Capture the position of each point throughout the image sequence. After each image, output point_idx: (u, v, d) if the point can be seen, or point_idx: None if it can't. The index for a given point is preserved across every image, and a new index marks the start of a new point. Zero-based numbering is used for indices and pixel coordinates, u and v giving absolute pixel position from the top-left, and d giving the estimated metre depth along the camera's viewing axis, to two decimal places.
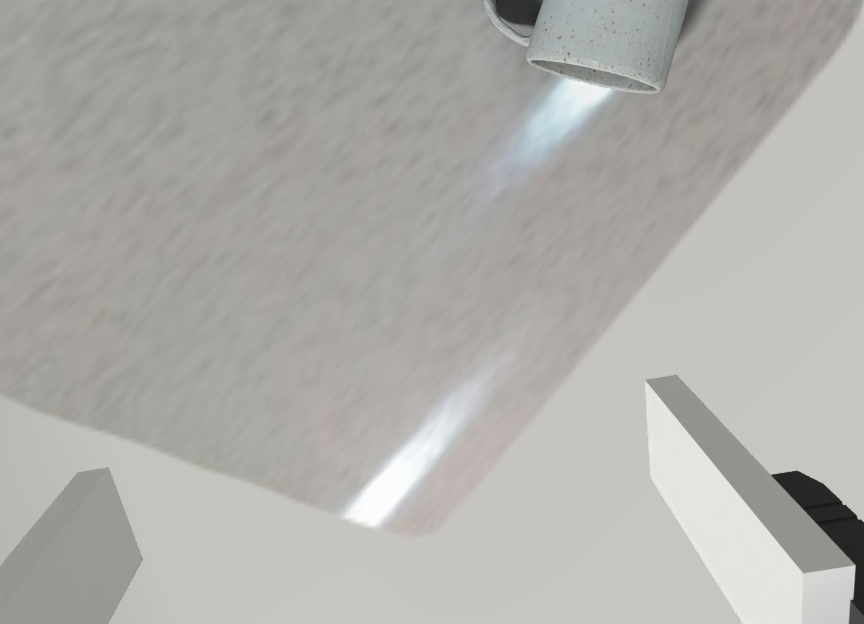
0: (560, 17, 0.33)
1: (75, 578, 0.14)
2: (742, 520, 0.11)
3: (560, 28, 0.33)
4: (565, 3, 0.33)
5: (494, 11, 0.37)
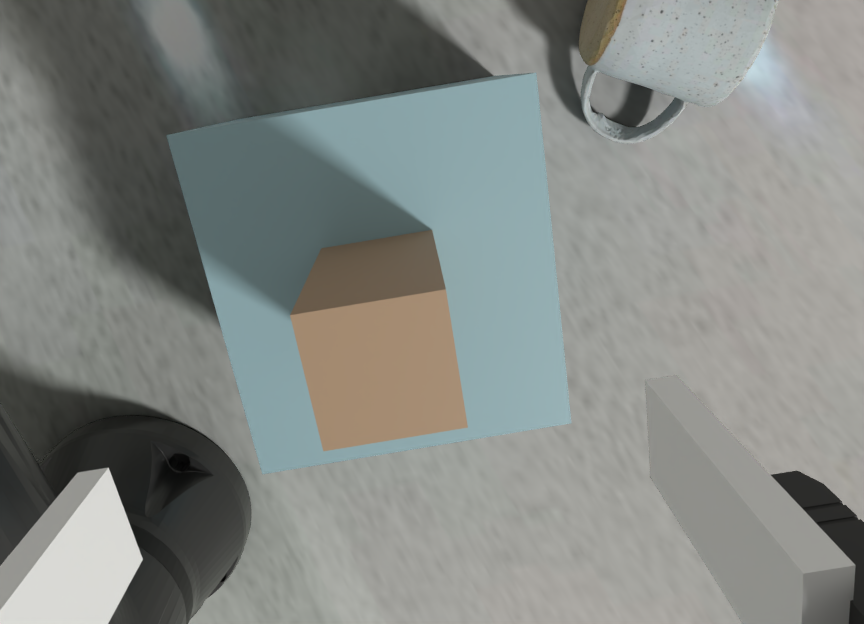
0: (695, 83, 0.35)
1: (75, 578, 0.14)
2: (742, 520, 0.11)
3: (706, 83, 0.34)
4: (683, 78, 0.35)
5: (648, 133, 0.39)
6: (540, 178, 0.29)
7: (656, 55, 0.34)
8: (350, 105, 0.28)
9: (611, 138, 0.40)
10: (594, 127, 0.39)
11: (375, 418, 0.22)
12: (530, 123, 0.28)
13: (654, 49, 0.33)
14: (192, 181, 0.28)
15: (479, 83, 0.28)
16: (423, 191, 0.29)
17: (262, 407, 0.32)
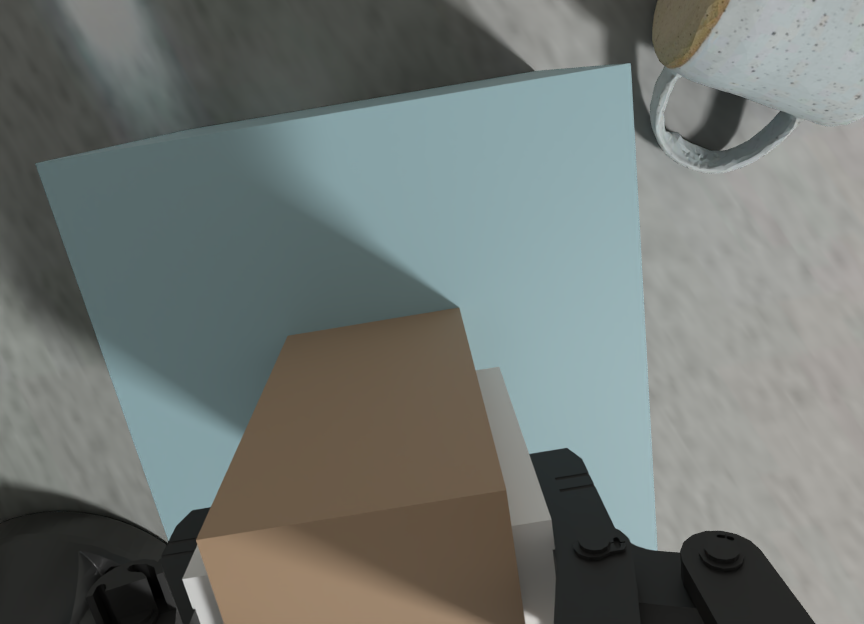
0: (826, 95, 0.24)
1: None
2: None
3: (844, 95, 0.24)
4: (811, 88, 0.24)
5: (741, 160, 0.29)
6: (629, 229, 0.18)
7: (777, 54, 0.23)
8: (330, 115, 0.17)
9: (690, 166, 0.29)
10: (668, 151, 0.29)
11: None
12: (618, 145, 0.18)
13: (775, 46, 0.23)
14: (81, 235, 0.18)
15: (538, 80, 0.17)
16: (446, 249, 0.18)
17: None
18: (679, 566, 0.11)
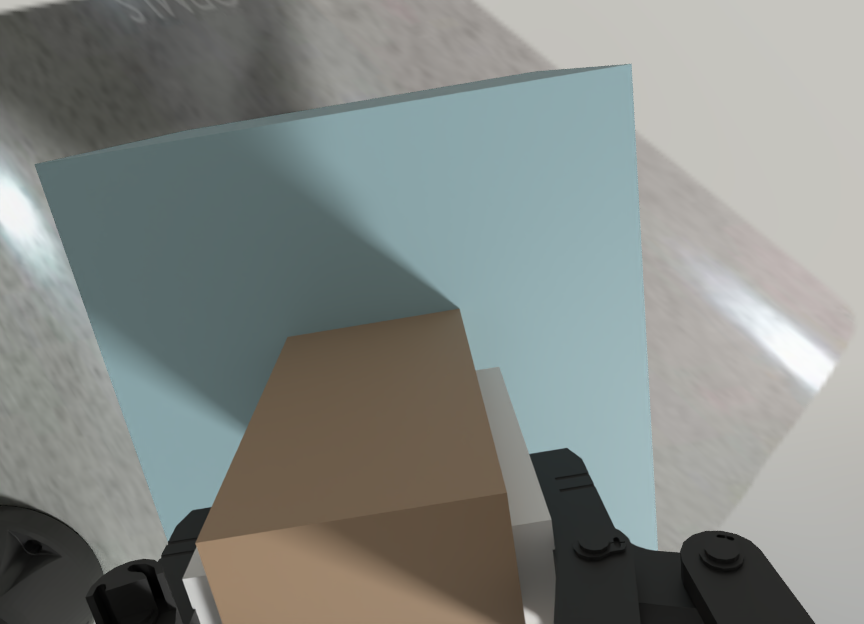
0: None
1: None
2: None
3: None
4: None
5: None
6: (630, 230, 0.18)
7: None
8: (330, 116, 0.17)
9: None
10: None
11: None
12: (619, 145, 0.18)
13: None
14: (81, 236, 0.18)
15: (539, 81, 0.17)
16: (446, 250, 0.18)
17: None
18: (679, 566, 0.11)
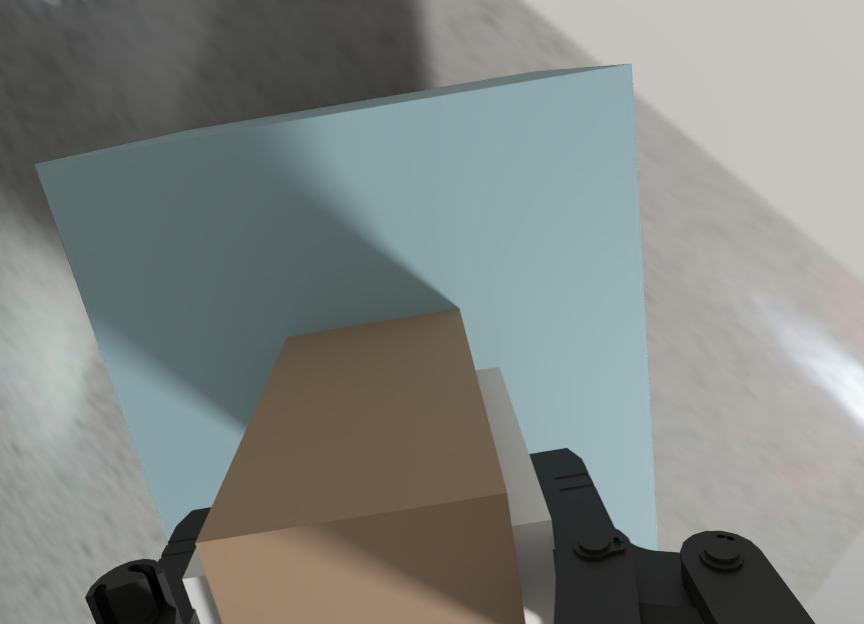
0: None
1: None
2: None
3: None
4: None
5: None
6: (630, 230, 0.18)
7: None
8: (330, 116, 0.17)
9: None
10: None
11: None
12: (619, 145, 0.18)
13: None
14: (81, 236, 0.18)
15: (539, 81, 0.17)
16: (446, 250, 0.18)
17: None
18: (679, 566, 0.11)
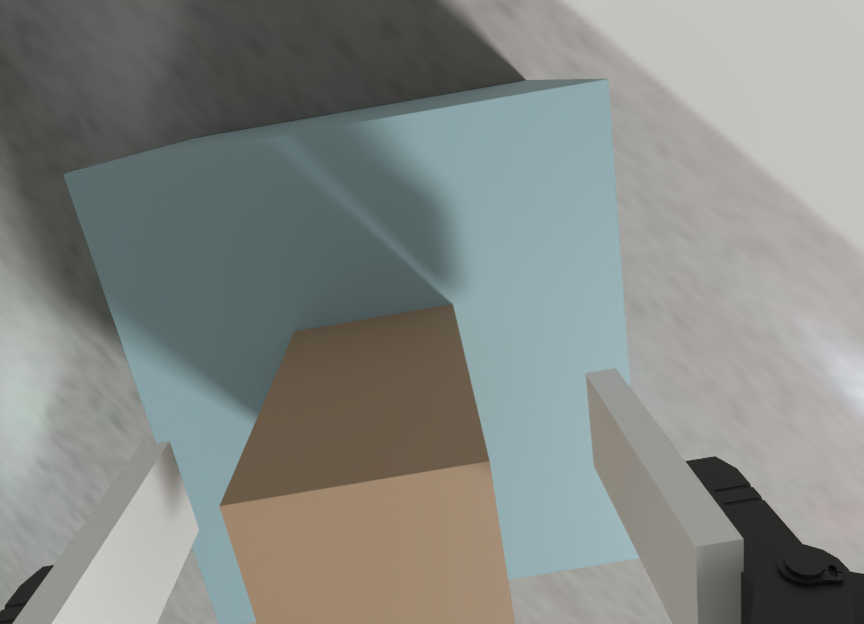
0: None
1: (146, 542, 0.15)
2: (655, 501, 0.12)
3: None
4: None
5: None
6: (609, 231, 0.20)
7: None
8: (333, 128, 0.19)
9: None
10: None
11: None
12: (598, 153, 0.19)
13: None
14: (104, 239, 0.19)
15: (524, 95, 0.19)
16: (440, 251, 0.20)
17: (217, 543, 0.23)
18: None
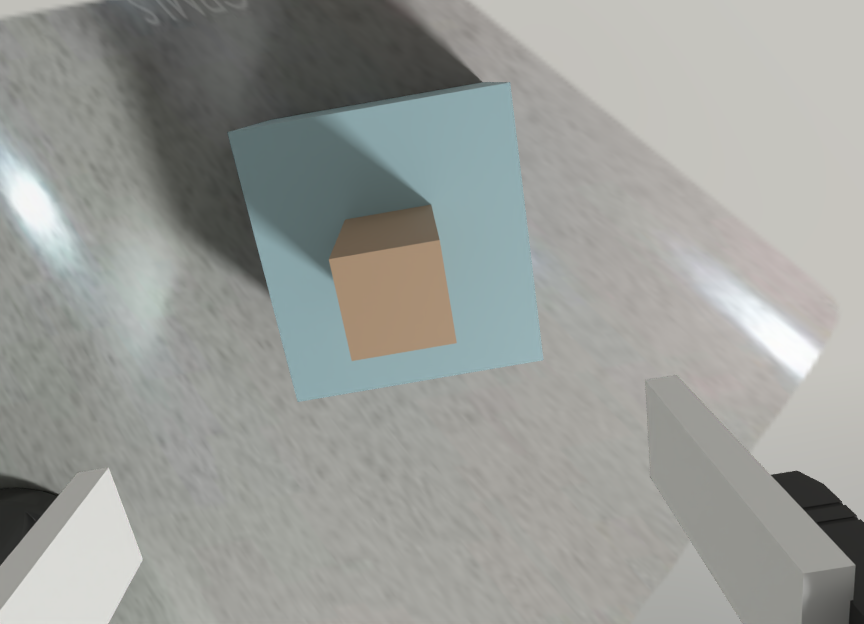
0: None
1: (75, 578, 0.14)
2: (742, 520, 0.11)
3: None
4: None
5: None
6: (514, 163, 0.37)
7: None
8: (367, 108, 0.36)
9: None
10: None
11: (389, 336, 0.31)
12: (506, 121, 0.37)
13: None
14: (246, 167, 0.37)
15: (466, 90, 0.36)
16: (424, 174, 0.37)
17: (298, 347, 0.40)
18: None
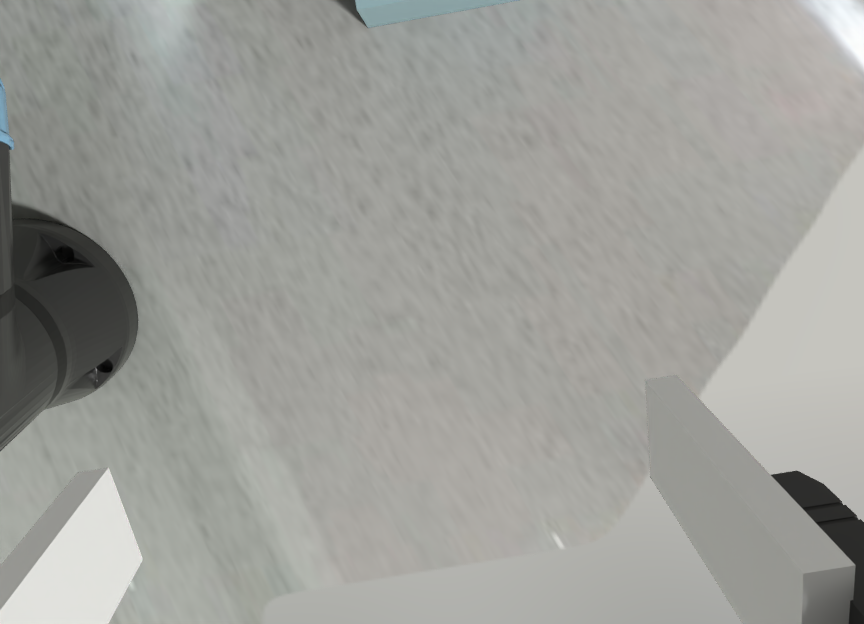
0: None
1: (75, 578, 0.14)
2: (742, 520, 0.11)
3: None
4: None
5: None
6: None
7: None
8: None
9: None
10: None
11: None
12: None
13: None
14: None
15: None
16: None
17: None
18: None
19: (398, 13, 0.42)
